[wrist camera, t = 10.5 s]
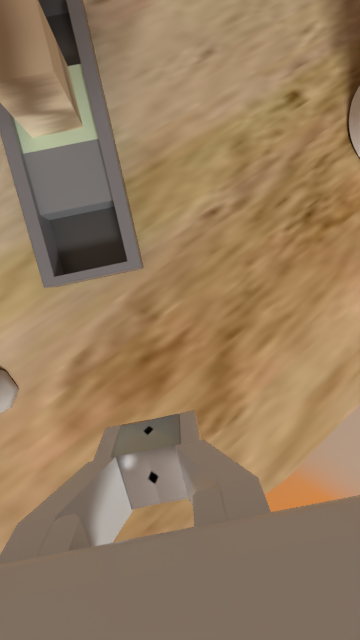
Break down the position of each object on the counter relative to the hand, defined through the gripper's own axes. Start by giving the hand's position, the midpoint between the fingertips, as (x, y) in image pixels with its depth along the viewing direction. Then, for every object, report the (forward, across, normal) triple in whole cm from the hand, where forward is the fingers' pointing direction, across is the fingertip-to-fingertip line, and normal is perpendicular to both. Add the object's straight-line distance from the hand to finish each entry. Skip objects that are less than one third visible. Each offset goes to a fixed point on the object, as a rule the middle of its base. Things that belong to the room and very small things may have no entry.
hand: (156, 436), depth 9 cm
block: (+30, +8, -24) cm, 39 cm away
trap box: (+32, +8, -20) cm, 39 cm away
